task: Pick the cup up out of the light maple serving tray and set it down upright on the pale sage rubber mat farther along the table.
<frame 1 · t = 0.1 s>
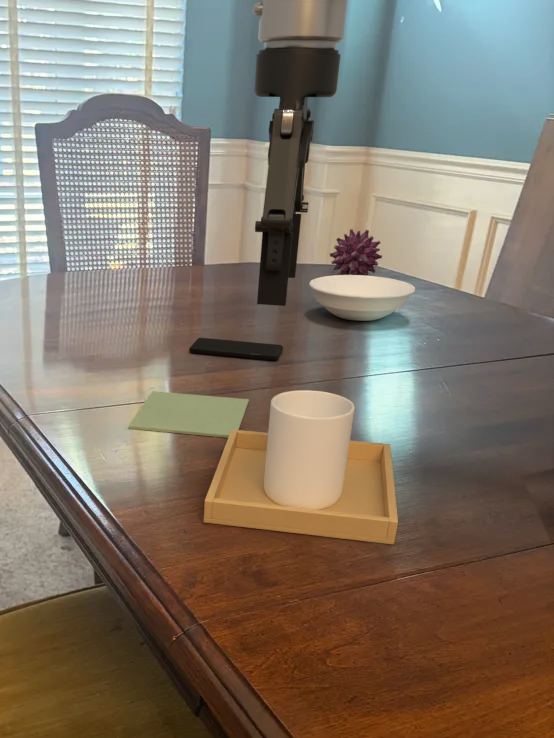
hand: (277, 289, 80), 20 cm above the table, tool pointing down, fingers open, 13 cm apart
bowl: (356, 319, 151), on the table
purple spiky ball: (352, 281, 182), on the table
cup: (302, 488, 84), resting on tray
smartphone: (236, 352, 130), on the table
mat: (191, 414, 104), on the table
tray: (302, 490, 84), on the table
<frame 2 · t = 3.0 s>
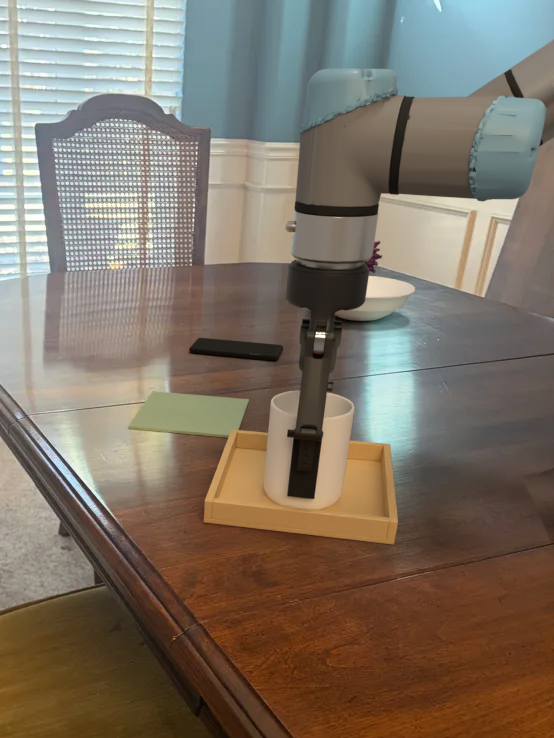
hand: (304, 470, 83), 2 cm above the table, tool pointing down, fingers closed on cup, 12 cm apart
cup: (302, 488, 84), resting on tray, touching gripper
everything else where it was.
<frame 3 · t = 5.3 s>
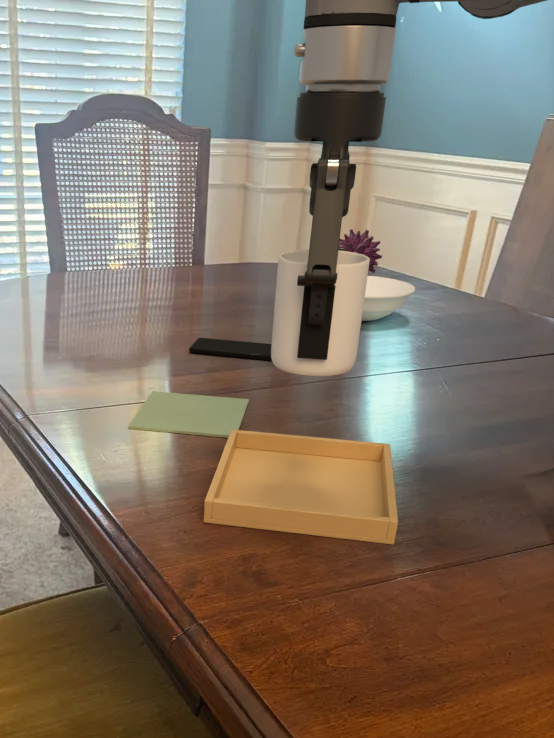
hand: (314, 340, 77), 16 cm above the table, tool pointing down, fingers closed on cup, 12 cm apart
cup: (312, 360, 78), point 14 cm above the table, touching gripper
everything else where it was.
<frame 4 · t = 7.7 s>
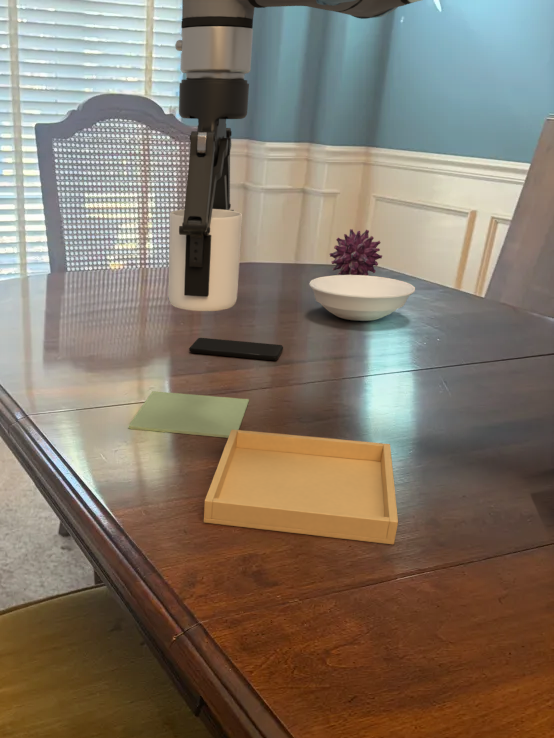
hand: (205, 284, 94), 18 cm above the table, tool pointing down, fingers closed on cup, 12 cm apart
cup: (204, 301, 95), point 15 cm above the table, touching gripper
everything else where it was.
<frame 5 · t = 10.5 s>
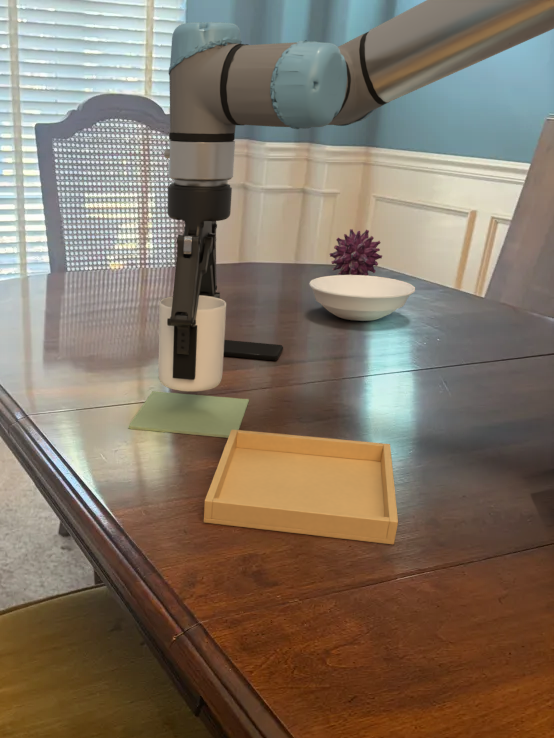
hand: (193, 363, 101), 7 cm above the table, tool pointing down, fingers closed on cup, 12 cm apart
cup: (192, 378, 102), point 5 cm above the table, touching gripper
everything else where it was.
when the fingers open (2 cm above the table, at t = 12.6 s): cup stays where it is, resting on mat.
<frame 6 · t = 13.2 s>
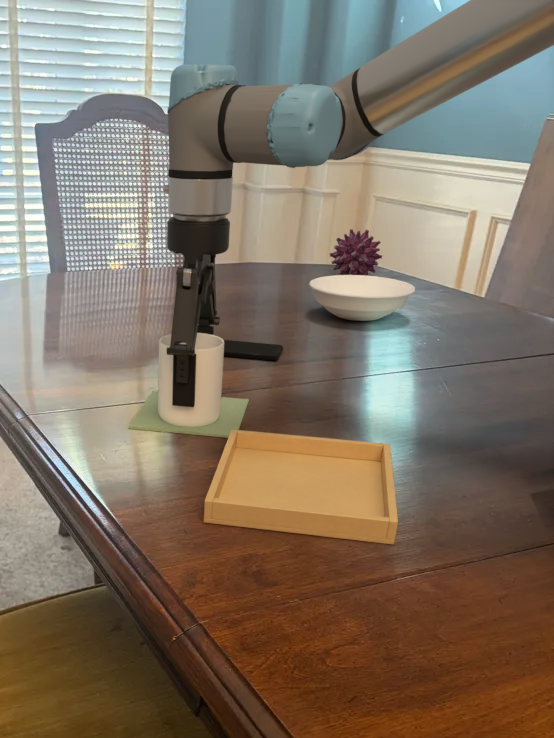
hand: (193, 388, 102), 4 cm above the table, tool pointing down, fingers open, 13 cm apart
cup: (191, 413, 104), resting on mat
everything else where it was.
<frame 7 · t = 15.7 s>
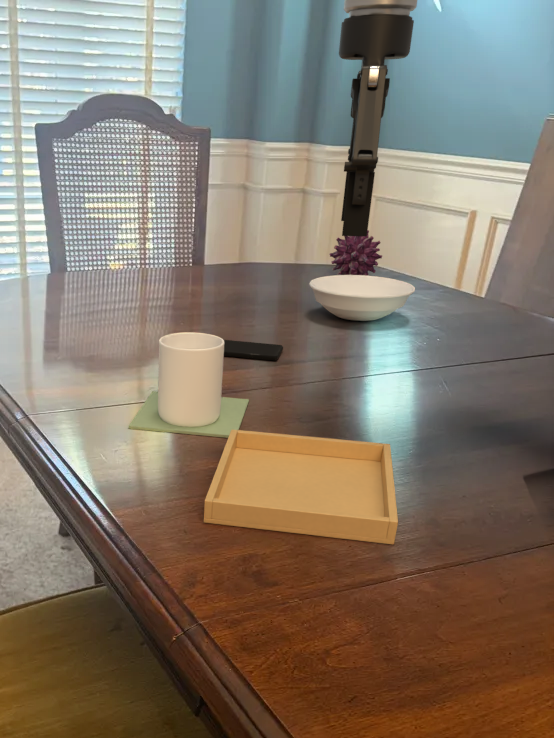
hand: (353, 228, 93), 24 cm above the table, tool pointing down, fingers open, 13 cm apart
nothing on the table moved.
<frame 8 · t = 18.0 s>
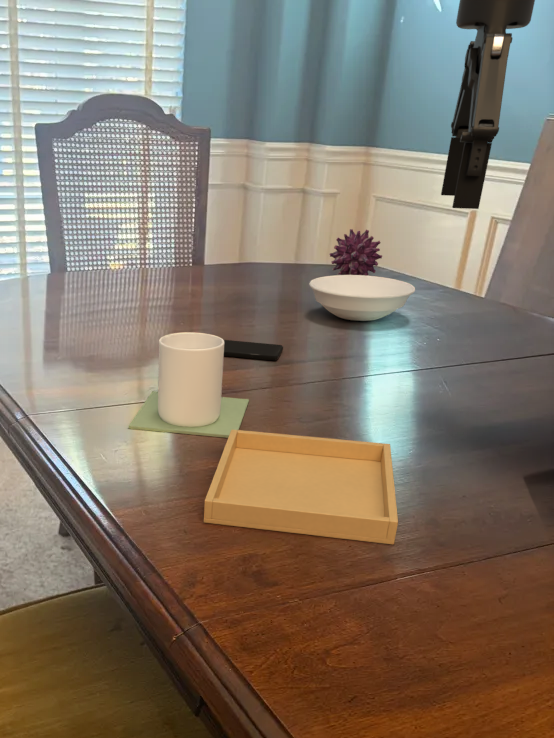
hand: (458, 201, 92), 27 cm above the table, tool pointing down, fingers open, 13 cm apart
nothing on the table moved.
at the end: cup inside the target area on the mat (0.0 cm from its centre), point 0.2 cm above the mat's base; cup tilted 0°; cup touching mat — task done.
